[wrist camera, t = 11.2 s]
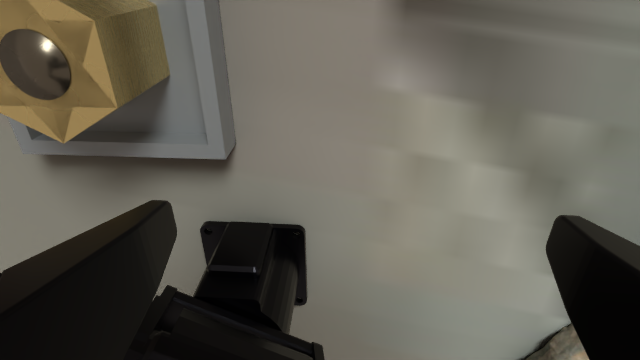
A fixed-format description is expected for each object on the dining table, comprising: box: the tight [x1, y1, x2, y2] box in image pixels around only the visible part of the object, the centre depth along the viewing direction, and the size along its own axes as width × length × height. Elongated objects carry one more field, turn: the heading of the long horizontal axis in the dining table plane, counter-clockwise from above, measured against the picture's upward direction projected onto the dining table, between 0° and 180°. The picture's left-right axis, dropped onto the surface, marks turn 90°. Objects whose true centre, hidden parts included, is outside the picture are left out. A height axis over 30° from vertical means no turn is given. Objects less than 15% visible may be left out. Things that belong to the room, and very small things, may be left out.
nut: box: [0, 0, 170, 144], centre depth 17 cm, size 6×6×5 cm
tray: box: [7, 0, 236, 159], centre depth 19 cm, size 11×11×2 cm
